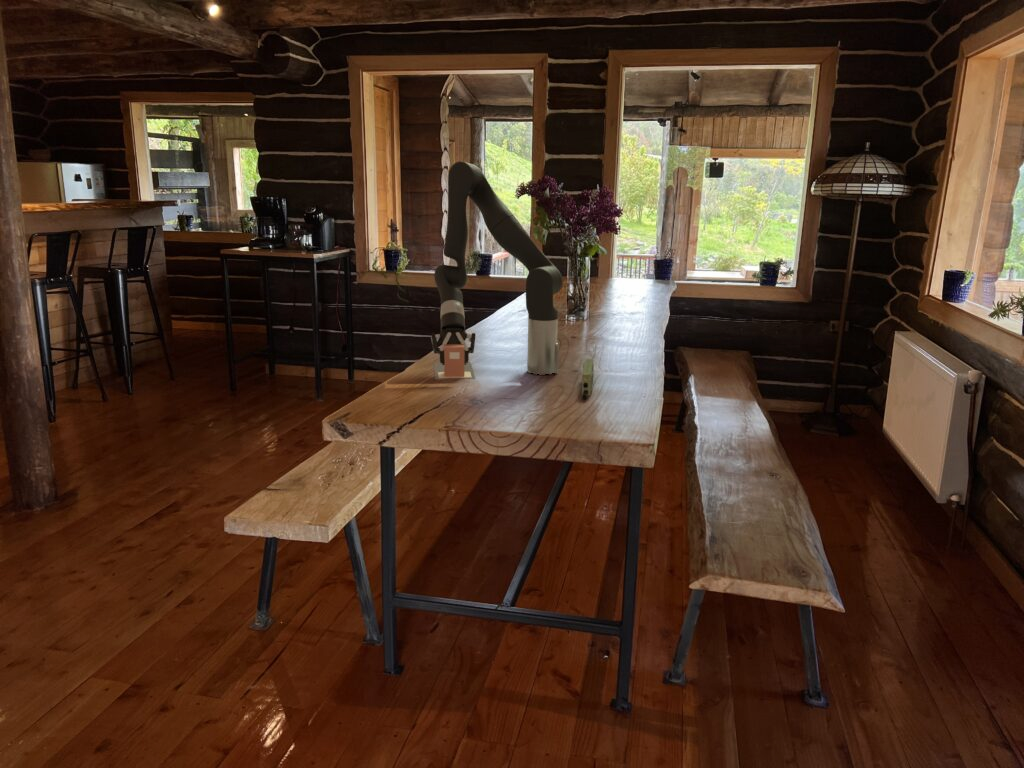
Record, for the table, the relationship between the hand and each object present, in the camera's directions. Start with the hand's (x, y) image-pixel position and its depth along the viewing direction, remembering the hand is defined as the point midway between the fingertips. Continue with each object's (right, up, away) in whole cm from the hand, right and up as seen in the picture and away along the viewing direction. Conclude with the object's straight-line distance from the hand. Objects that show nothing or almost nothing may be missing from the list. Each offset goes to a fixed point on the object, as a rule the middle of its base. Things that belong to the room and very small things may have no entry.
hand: (454, 363), depth 220 cm
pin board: (-1, -3, +9) cm, 9 cm away
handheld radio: (+39, -8, -7) cm, 41 cm away
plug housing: (0, -3, +3) cm, 4 cm away
